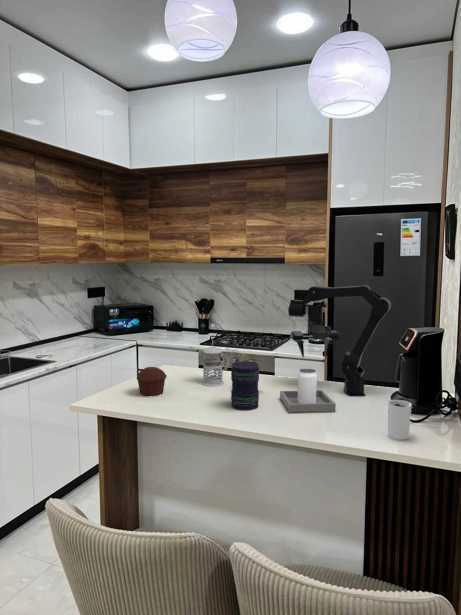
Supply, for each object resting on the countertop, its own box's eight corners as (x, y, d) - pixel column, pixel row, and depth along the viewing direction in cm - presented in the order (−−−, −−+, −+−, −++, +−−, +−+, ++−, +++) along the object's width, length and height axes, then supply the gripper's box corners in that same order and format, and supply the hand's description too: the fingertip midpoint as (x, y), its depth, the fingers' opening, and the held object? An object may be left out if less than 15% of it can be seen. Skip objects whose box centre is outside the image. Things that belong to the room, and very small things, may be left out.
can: (304, 407, 161) (305, 373, 160) (293, 402, 167) (294, 369, 165) (319, 404, 164) (320, 371, 163) (308, 399, 170) (309, 367, 168)
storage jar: (263, 404, 166) (263, 363, 165) (251, 412, 158) (251, 369, 156) (238, 400, 171) (238, 360, 169) (225, 407, 162) (226, 366, 161)
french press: (199, 380, 197) (198, 322, 194) (225, 379, 199) (225, 321, 196) (203, 387, 187) (203, 326, 184) (231, 385, 190) (231, 325, 187)
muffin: (130, 394, 178) (129, 368, 177) (150, 387, 187) (150, 363, 186) (153, 399, 171) (152, 373, 170) (173, 392, 180) (172, 367, 179)
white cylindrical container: (381, 435, 138) (383, 402, 137) (394, 430, 142) (396, 398, 141) (401, 442, 133) (403, 408, 132) (414, 436, 137) (416, 404, 136)
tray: (322, 397, 174) (322, 389, 174) (335, 412, 158) (335, 403, 158) (279, 398, 172) (280, 390, 172) (289, 413, 157) (289, 404, 156)
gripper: (296, 321, 174) (295, 361, 175) (345, 320, 175) (343, 360, 177) (290, 317, 185) (289, 355, 186) (335, 316, 186) (334, 354, 188)
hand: (314, 356), depth 184 cm, fingers open, 9 cm apart
